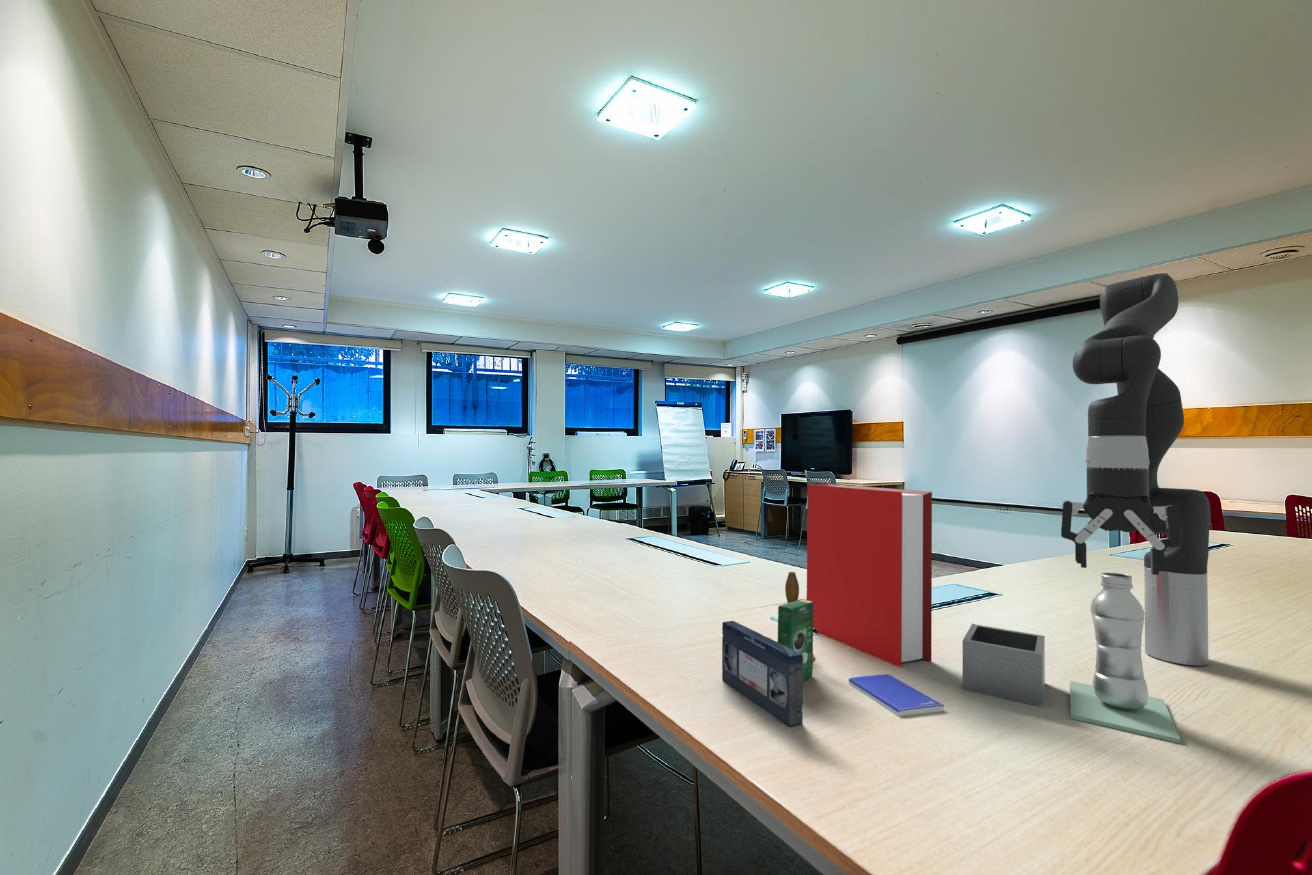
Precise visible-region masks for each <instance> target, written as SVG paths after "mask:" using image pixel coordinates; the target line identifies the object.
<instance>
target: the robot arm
mask: <svg viewBox="0 0 1312 875" xmlns="http://www.w3.org/2000/svg"><path fill="white" fill-rule="evenodd" d="M1099 305H1100V306H1099V307H1100V311H1101V316H1102V317H1101V318H1102V320H1103V328H1102V330H1101V331H1098V332H1097V333H1095V334H1093V335H1092V336H1090V337H1088V338H1086V339H1085V340H1084V341H1083V342H1082V343H1081V344H1079V345H1078V347H1077V348H1076V350H1075V353H1074V354H1073V355H1074V356H1073V358H1072V369H1073V373H1074V374H1075V376H1076V377H1077V379H1078V380H1080V381H1081V382H1083V383H1085V384H1087V385H1104V384H1105V385H1106V384H1116V391H1117V395H1114V396H1110V397H1105V398H1101V399H1097V400H1094V401H1092V402H1090V403H1089V405H1088V410H1087V426H1088V427H1087V436H1088V437H1087V444H1086V458H1085V464H1086V499H1085V501H1084V502H1077V501H1070V500H1069V499H1068V500H1065V501H1063V502H1062V514H1061V516H1062V517H1061V529H1060V536H1061V537H1062V538H1063V539H1067V540H1069V541H1072V542H1073V543H1074V548H1075V549H1074V550H1075V551H1074V552H1075V553H1074V554H1075V557H1074V558H1075V562H1076V564H1080V567H1081V568H1083V569H1087V566H1088V565H1087V543H1086V540H1088V538H1090V537H1091V536H1092V535H1093V534H1094V533H1095V532H1096V531H1097V530H1098V529H1101V530H1103V531H1106V532H1107V531H1108V532H1114V531H1120V532H1124V533H1133V532H1136V531H1138V532H1139V533H1140V534H1141V535H1142V536H1143V537H1144V539H1145V540H1147V541H1148V543H1149V544H1150V545H1151V546H1152V547H1150V551H1147V552H1146V553H1145V554H1144V556H1143V568H1144V569H1143V570H1144V571H1143V573H1144V575H1143V576H1144V577H1143V578H1144V580H1143V581H1144V652H1145V653H1146V655H1148V656H1150V657H1153V658H1156V659H1159V660H1162V661H1164V662H1169V663H1173V664H1174V663H1175V664H1181V665H1188V666H1197V667H1199V666H1200V667H1201V666H1206V665H1209V603H1208V602H1209V599H1208V598H1209V597H1208V595H1209V594H1208V591H1209V590H1208V564H1209V563H1208V561H1209V554H1210V553H1209V552H1210V549H1209V547H1210V546H1209V543H1210V527H1211V505H1210V501H1209V498H1208V497H1207V494H1206V493H1204V492H1203V491H1202V490H1200V489H1191V488H1175V487H1173V488H1170V487H1169V488H1168V487H1160V486H1159V484H1158V470H1159V467H1160V465H1161V462H1162V460H1163V458H1164V457H1165V456H1166V455H1167V453H1168V450H1170V448H1171V447H1172V445H1173V444H1174V443H1175V442H1176V439H1177V438H1178V436H1179V435H1180V433H1181V432H1182V430H1183V427H1184V424H1185V414H1184V409H1183V402H1182V396H1181V390H1180V389H1179V387H1178V385H1177V384H1176V383H1175V382H1174V380H1172V379H1171V378H1170V377H1169V376H1168V375H1167V374H1166V373H1164V372H1163V371H1162V370H1161V369H1160V368H1159V366H1160V363H1161V359H1162V351H1161V347H1160V345H1159V344H1158V342H1157V341H1156V340H1155V339H1154V337H1155V335H1156V334H1157V333H1158V332H1159V331H1160V330H1161V329H1162V328H1164V327H1165V326H1166V325H1167V324H1168V323H1169V322H1171V321H1172V320H1173V319H1174V318H1175V316H1176V314H1177V313H1178V309H1179V292H1178V287H1177V284H1176V283H1175V280H1174V279H1173V277H1172V276H1170V275H1169V274H1166V273H1156V274H1155V273H1154V274H1149V275H1145V276H1139V277H1135V278H1132V279H1128V280H1127V279H1126V280H1123V281H1118V282H1115V283H1114V282H1113V283H1110V284H1107V285H1106V286H1104V287H1103V288H1102V289H1101V291H1100V295H1099ZM1080 510H1083V511H1084V512H1085V513H1086V515H1088V517H1090V520H1089V521H1088V522H1087V523H1086V524H1085V525H1084V527H1083V528H1081V530H1079V532H1078V533H1076V532H1074V531H1072V530H1071V529H1072V518H1073V517H1072V516H1076V515H1078V514H1079V511H1080ZM1156 534H1160V535H1166V537H1165V538H1162V539H1160V538H1159V537H1158V536H1157V535H1156Z"/></svg>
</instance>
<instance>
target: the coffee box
mask: <svg viewBox="0 0 1312 875" xmlns="http://www.w3.org/2000/svg"><path fill="white" fill-rule="evenodd" d="M777 607H778V608H777V642H778V643H780V644H782V645H784V646H786V647H788V648H790V649H792V650H794V651H796V652H797V653H799V654H802V655H803V667H802V670H803V681H805V680H808V679H809V678H810V677H813V669H814V668H813V667H814V664H813V662H814V660H813V654H814V652H813V651H814V631H813V601H809V600H807V599H800V598H799V599H798V600H796V601H793V602H790V603H788V602H787V603H784V604H780V605H778V606H777Z"/></svg>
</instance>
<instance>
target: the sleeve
mask: <svg viewBox="0 0 1312 875" xmlns="http://www.w3.org/2000/svg"><path fill="white" fill-rule="evenodd" d="M1045 641H1046V639H1045V635H1042V634H1035V633H1029V632H1024V631H1017V630H1010V629H1007V628H1005V629H1004V628H1000V627H995V626H994V627H993V626H987V625H981V624H974V623H971V625H970V626H969V628H968V630H967V632H966V634H965V636H964V637H963V639H962V690H966V691H970V692H975V693H978V694H983V695H988V696H992V697H997V698H1000V699H1006V700H1010V701H1013V702H1018V703H1024V704H1027V705H1032V706H1036V707H1040V708H1044V697H1045V696H1044V695H1045V685H1046V680H1045V679H1046V674H1045V673H1046V666H1045V665H1046V664H1045V662H1046V660H1045V659H1046V658H1045V657H1046V654H1045V653H1046V650H1045V649H1046V646H1045V645H1046V642H1045Z"/></svg>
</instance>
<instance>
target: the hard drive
mask: <svg viewBox="0 0 1312 875" xmlns="http://www.w3.org/2000/svg"><path fill="white" fill-rule="evenodd" d="M848 684H849V685H850V686H852V688H854V689H856V690H858V691H859V692H861V693H862V694H863V695H865V696H867V697H869V698H870V699H872V701H874V702H876V703H877V704H879V705H880V706H882V707H883V708H884V709H887V710H888V711H890V712H892V713H893V714H895V715H896V716H897V717H903V716H904V717H905V716H913V715H920V714H928V713H935V712H936V713H937V712H944V711H945V705H944V704H942V703H941V702H939V701H937V700H935V699H934V698H933V697H930V696H928V695H927V694H925V693H923V692H922V691H919V690H918V689H916V688H914V687H912V686H910V685H908V684H906V683H905V682H903V681H902V680H900V679H899V678H896V677H894V676H892V675H891V674H888V673H886V674H885V673H884V674H874V675H866V676H865V675H864V676H863V675H862V676H855V677H849V679H848Z"/></svg>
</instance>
